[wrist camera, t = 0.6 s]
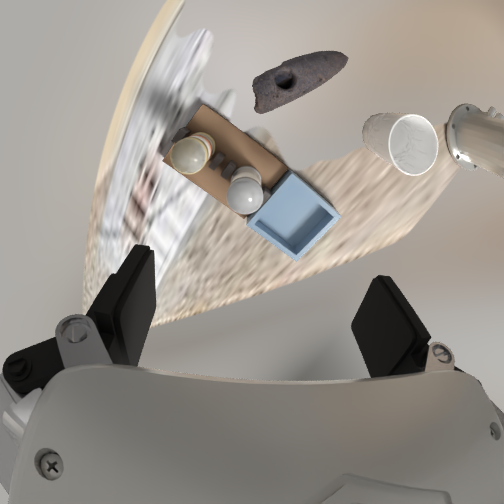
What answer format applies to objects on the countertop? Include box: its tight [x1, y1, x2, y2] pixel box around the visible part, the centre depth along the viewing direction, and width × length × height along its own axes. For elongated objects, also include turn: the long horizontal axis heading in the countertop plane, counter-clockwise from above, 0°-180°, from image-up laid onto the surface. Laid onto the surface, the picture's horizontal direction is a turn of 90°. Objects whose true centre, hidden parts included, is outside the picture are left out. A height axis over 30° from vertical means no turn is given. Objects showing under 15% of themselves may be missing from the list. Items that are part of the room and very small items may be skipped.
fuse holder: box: [163, 104, 288, 219], centre depth 36 cm, size 10×15×4 cm, turn 51°
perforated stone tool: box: [252, 51, 348, 114], centre depth 28 cm, size 15×5×7 cm, turn 120°
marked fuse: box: [170, 132, 216, 174], centre depth 32 cm, size 4×4×8 cm
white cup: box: [362, 113, 438, 176], centre depth 31 cm, size 8×8×10 cm
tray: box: [246, 169, 341, 262], centre depth 40 cm, size 10×10×3 cm
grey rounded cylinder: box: [227, 165, 263, 214], centre depth 34 cm, size 4×4×8 cm
